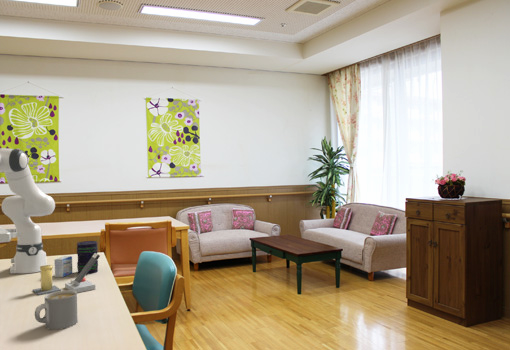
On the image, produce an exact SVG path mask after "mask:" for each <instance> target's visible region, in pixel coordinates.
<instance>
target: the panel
mask: <svg viewBox="0 0 510 350" xmlns="http://www.w3.org/2000/svg"><path fill="white" fill-rule="evenodd" d="M75 279H76V278H73V279H70V281H69V282H65V283H64V288H65V289H67V291H75V292H77V294H78V293H83V292H90V291H92V290H93V291H94V290H96V284H95V283H93V282H91V281H90V280H88V279H86V277H84V278H83V279H82V281H81V282H80V285H79V286H76V285H75V284H73V283H72V281H73V280H75Z"/></svg>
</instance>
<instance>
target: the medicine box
mask: <svg viewBox="0 0 510 350" xmlns="http://www.w3.org/2000/svg"><path fill="white" fill-rule="evenodd" d="M71 274H73V256H70V255H67V256H66V255H65V256H61V257H59V258H56V259H54V277H55V278H64V277H67V276H69V275H71Z"/></svg>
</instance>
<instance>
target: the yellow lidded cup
mask: <svg viewBox="0 0 510 350" xmlns="http://www.w3.org/2000/svg"><path fill="white" fill-rule="evenodd" d="M53 267H54V265H52V264H47V265H44V266H40V270H41V271H40V288H41V291H49V290H52V286H53Z"/></svg>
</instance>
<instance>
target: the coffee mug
mask: <svg viewBox="0 0 510 350" xmlns="http://www.w3.org/2000/svg"><path fill="white" fill-rule="evenodd" d="M42 310H44V316H43V317H41V315H40V314H41V311H42ZM34 319H35V320H36V322H38V323H41V324H45V326H44V327H45V328H46V329H47V328H49V329H48V330H53V329H56V330H62V329H61V328H64V329H68V328H71V327H74V326H75V325H76V323H78V321H79V319H78V293H77V292H75V291H70V290H61V291H58V292H53V293H48V294H45V296H44V303H41V304H39V305H38V306H36V308H35V311H34ZM73 325H74V326H73ZM70 326H71V327H70ZM67 327H68V328H67Z"/></svg>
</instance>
